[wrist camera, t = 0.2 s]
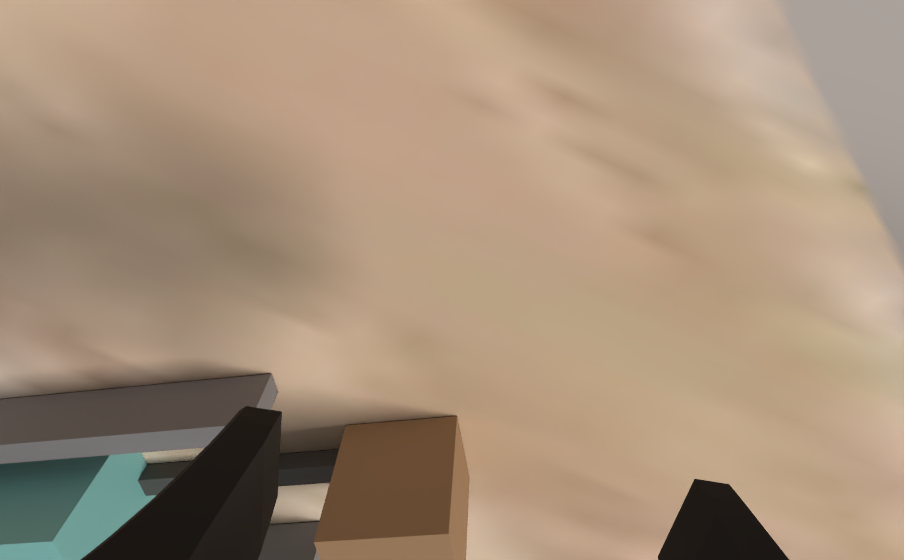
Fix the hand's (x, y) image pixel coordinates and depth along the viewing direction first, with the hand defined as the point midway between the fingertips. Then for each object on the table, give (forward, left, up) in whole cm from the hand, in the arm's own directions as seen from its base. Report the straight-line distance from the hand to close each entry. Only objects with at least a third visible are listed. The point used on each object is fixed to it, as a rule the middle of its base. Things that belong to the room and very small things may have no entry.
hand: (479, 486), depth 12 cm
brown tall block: (-8, +10, -10) cm, 17 cm away
